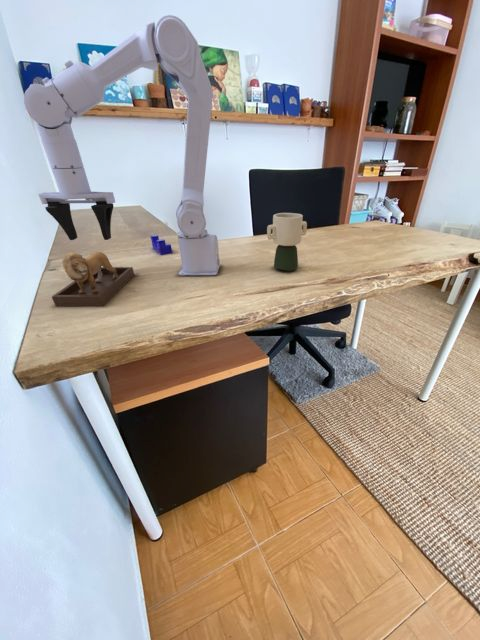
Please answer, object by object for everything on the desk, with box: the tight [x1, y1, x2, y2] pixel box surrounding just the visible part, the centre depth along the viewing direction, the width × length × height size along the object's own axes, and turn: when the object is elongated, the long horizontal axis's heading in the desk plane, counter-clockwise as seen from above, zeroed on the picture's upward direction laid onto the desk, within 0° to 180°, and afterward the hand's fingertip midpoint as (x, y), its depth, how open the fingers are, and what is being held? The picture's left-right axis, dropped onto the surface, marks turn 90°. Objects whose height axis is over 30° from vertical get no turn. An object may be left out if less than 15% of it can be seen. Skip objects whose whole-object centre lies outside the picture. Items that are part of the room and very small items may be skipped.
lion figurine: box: [61, 251, 118, 293], centre depth 63 cm, size 15×5×9 cm, turn 0°
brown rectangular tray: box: [51, 266, 135, 307], centre depth 66 cm, size 10×18×2 cm, turn 0°
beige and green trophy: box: [266, 212, 308, 272], centre depth 73 cm, size 11×7×13 cm, turn 115°
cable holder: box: [150, 234, 173, 256], centre depth 90 cm, size 8×4×4 cm, turn 33°
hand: (90, 239), depth 66 cm, fingers open, 7 cm apart
